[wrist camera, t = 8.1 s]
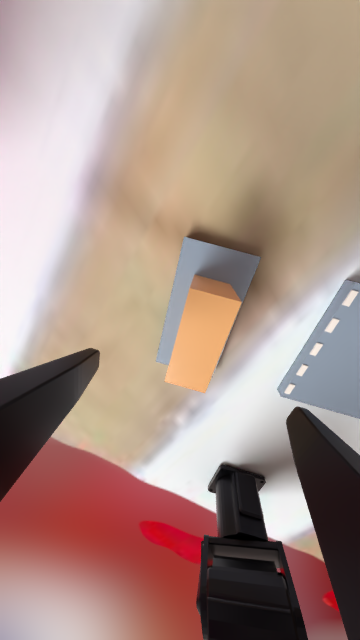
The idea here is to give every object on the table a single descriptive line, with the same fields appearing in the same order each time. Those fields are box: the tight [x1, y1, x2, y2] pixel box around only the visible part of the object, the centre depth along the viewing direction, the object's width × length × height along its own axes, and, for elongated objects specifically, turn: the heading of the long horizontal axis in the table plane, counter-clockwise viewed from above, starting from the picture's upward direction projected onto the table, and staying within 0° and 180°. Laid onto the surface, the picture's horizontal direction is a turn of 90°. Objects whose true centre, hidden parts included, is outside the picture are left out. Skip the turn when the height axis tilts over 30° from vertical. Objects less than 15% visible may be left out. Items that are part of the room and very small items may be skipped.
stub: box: [156, 237, 261, 393], centre depth 14 cm, size 12×6×6 cm, turn 166°
